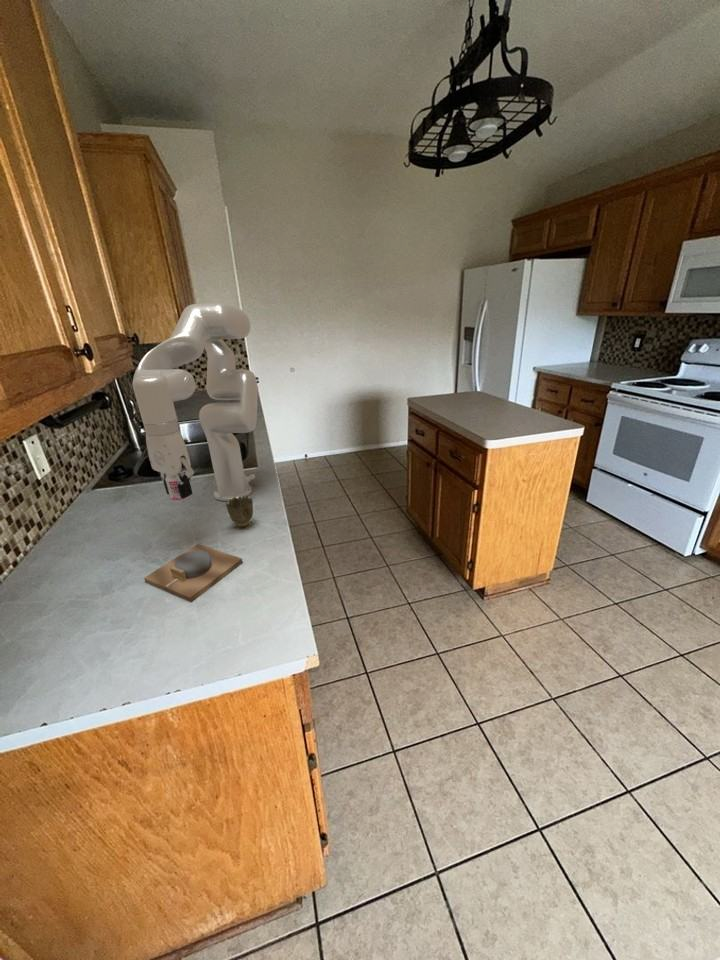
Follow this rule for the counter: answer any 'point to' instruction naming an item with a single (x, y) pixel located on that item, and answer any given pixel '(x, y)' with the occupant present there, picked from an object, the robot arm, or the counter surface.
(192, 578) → the board
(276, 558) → the counter surface
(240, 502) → the dark rounded piece
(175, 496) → the pill bottle
